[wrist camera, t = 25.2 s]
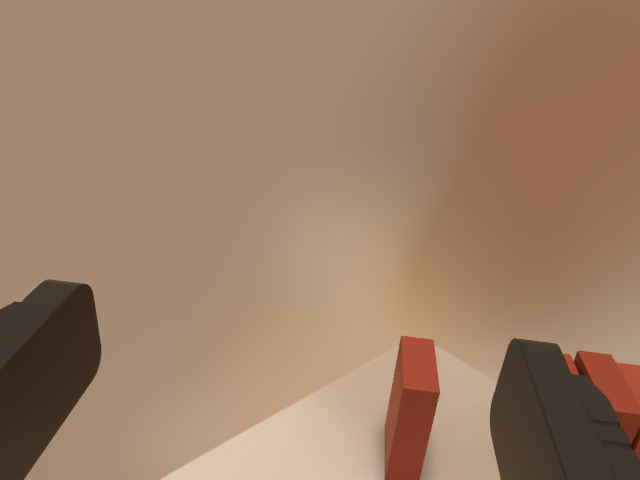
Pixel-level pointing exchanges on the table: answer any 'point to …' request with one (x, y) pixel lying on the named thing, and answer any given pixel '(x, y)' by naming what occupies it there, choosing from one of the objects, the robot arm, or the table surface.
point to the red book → (411, 408)
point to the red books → (614, 388)
